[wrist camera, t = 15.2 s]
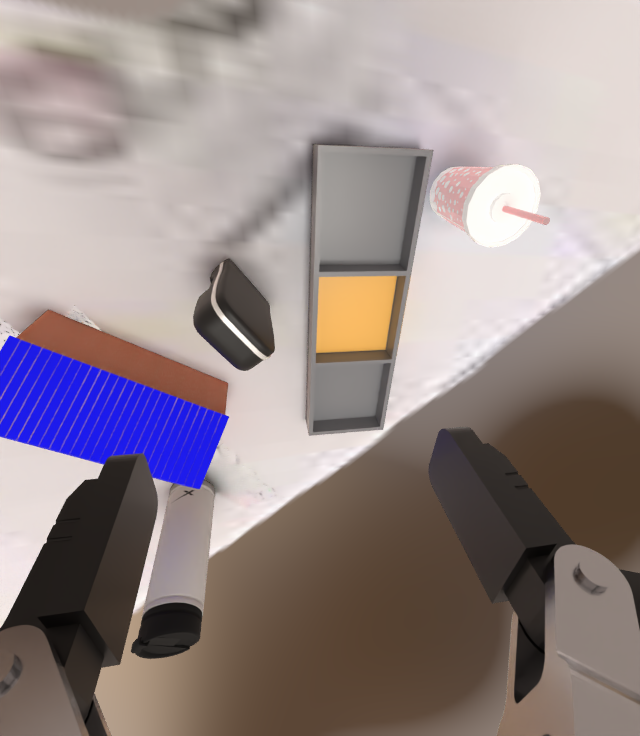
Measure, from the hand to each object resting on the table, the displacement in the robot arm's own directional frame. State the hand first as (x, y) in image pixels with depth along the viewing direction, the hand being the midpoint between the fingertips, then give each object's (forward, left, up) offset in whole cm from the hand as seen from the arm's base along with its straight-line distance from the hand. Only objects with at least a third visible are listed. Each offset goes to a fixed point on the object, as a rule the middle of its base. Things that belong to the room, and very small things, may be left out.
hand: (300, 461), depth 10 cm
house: (+18, -16, -31) cm, 39 cm away
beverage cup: (-3, +19, -30) cm, 36 cm away
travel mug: (+37, -12, -30) cm, 49 cm away
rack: (+9, +10, -30) cm, 33 cm away
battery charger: (+7, -3, -30) cm, 31 cm away
